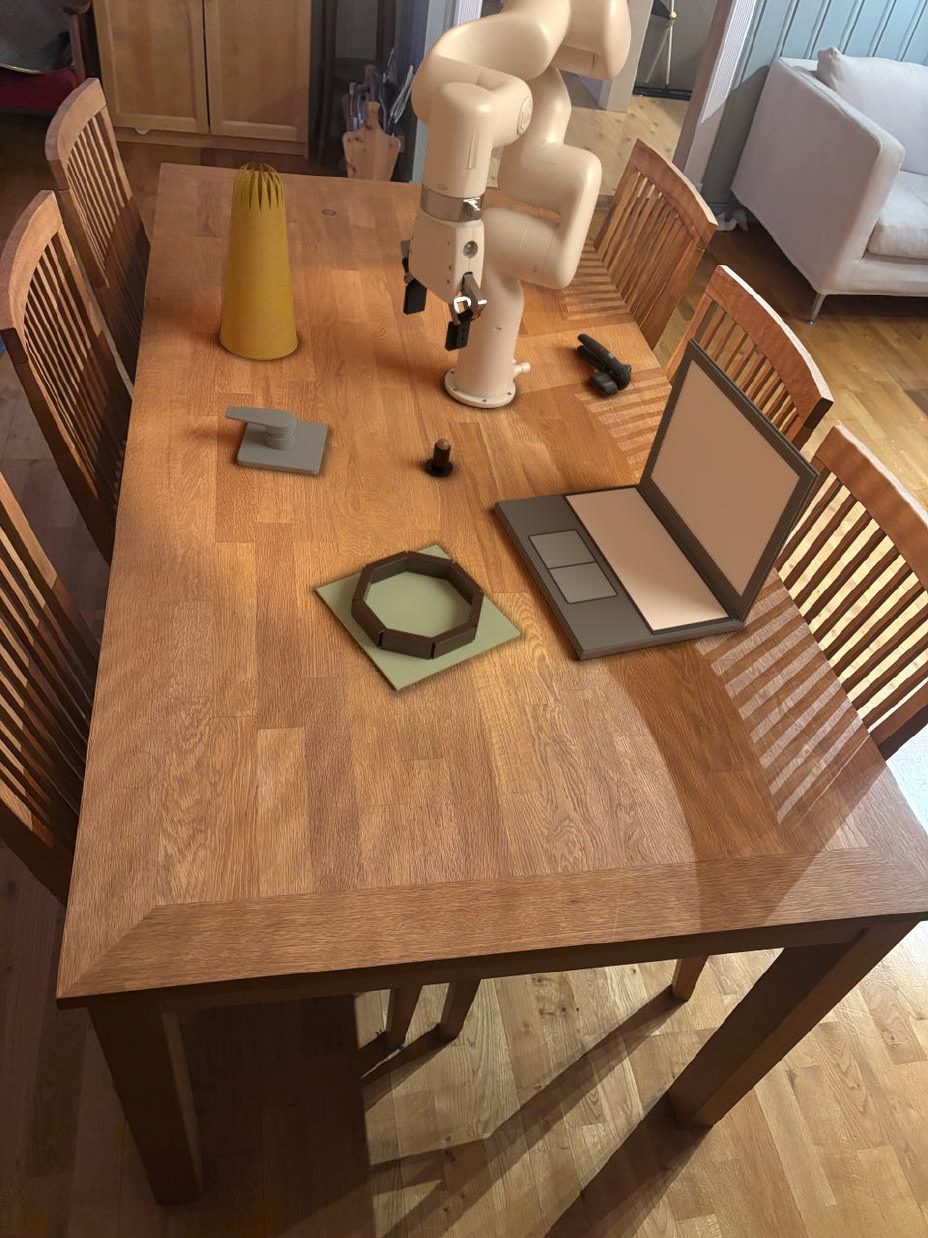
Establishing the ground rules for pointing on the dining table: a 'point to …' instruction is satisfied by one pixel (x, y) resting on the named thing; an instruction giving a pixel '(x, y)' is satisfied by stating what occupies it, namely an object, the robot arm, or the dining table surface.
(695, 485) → the laptop
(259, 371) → the dining table surface
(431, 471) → the post
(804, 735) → the dining table surface
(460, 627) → the hanging ring
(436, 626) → the sage mat
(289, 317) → the piping tip
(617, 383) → the can opener
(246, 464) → the shower valve
